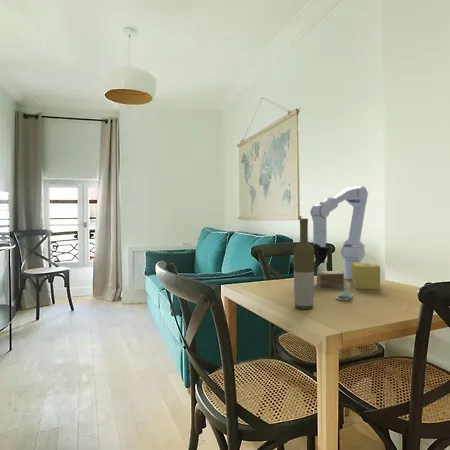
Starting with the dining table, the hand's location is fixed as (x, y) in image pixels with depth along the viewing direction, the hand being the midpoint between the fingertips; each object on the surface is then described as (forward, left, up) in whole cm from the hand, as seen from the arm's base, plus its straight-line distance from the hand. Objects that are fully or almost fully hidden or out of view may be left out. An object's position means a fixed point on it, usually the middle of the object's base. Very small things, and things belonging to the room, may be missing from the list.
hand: (319, 261), depth 156 cm
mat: (+8, +4, -10) cm, 13 cm away
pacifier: (+27, +3, -10) cm, 29 cm away
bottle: (+40, -13, -10) cm, 43 cm away
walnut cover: (+8, +3, -10) cm, 12 cm away
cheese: (+7, +18, -10) cm, 22 cm away
